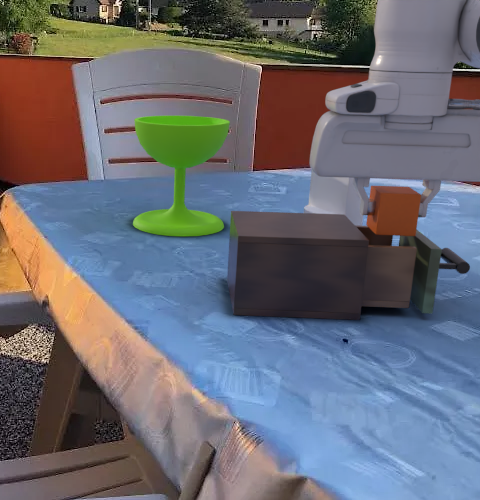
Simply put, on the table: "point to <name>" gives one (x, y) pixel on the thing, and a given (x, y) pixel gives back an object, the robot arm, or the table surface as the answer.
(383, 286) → the drawer
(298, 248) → the cabinet
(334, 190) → the base with upright slab
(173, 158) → the wineglass
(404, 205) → the burnt orange cube
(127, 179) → the table surface
